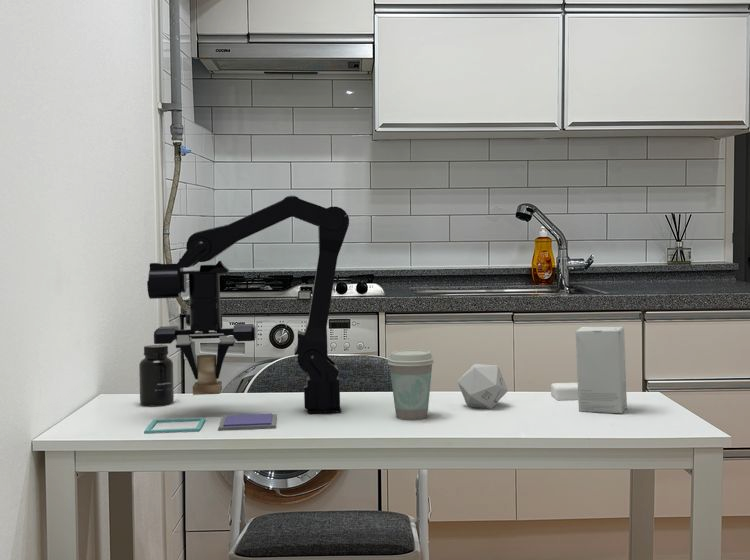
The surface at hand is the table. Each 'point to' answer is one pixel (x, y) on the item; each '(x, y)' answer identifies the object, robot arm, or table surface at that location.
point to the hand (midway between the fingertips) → (207, 378)
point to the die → (482, 386)
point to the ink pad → (248, 421)
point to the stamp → (206, 376)
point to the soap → (564, 391)
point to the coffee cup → (411, 382)
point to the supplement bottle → (156, 376)
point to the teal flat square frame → (198, 428)
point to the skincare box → (601, 369)
